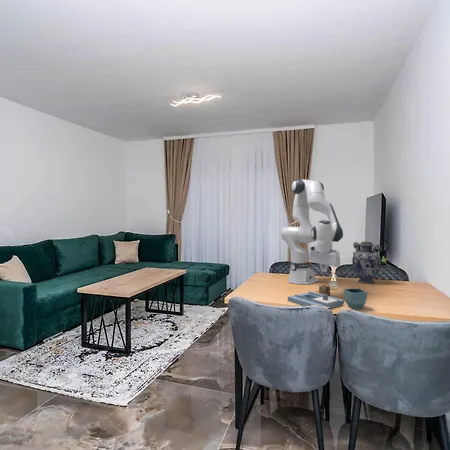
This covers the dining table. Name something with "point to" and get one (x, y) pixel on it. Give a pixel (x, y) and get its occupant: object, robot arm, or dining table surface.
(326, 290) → the walnut block
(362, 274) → the decorative vase
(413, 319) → the dining table surface
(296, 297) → the puzzle board
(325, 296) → the lid
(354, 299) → the flower pot
